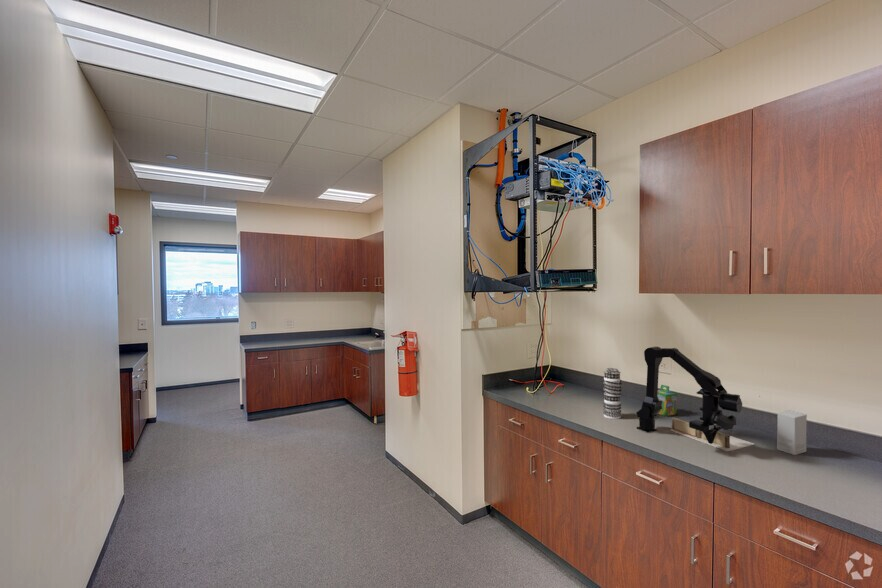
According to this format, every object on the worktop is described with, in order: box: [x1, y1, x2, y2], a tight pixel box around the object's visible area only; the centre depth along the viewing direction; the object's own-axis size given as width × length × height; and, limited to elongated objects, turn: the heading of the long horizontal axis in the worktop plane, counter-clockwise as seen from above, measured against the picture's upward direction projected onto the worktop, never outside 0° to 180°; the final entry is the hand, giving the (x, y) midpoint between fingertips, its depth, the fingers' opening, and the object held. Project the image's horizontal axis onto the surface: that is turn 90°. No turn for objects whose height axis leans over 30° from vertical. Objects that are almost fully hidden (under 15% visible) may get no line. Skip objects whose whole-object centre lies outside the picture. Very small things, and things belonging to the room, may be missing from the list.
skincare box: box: [776, 409, 808, 456], centre depth 160 cm, size 8×7×16 cm
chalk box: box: [657, 384, 678, 417], centre depth 210 cm, size 9×9×15 cm
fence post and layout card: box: [669, 417, 755, 452], centre depth 176 cm, size 18×27×6 cm, turn 22°
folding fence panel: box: [702, 431, 731, 448], centre depth 168 cm, size 11×2×5 cm, turn 22°
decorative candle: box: [602, 367, 623, 420], centre depth 205 cm, size 9×9×25 cm
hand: (710, 443), depth 164 cm, fingers closed
